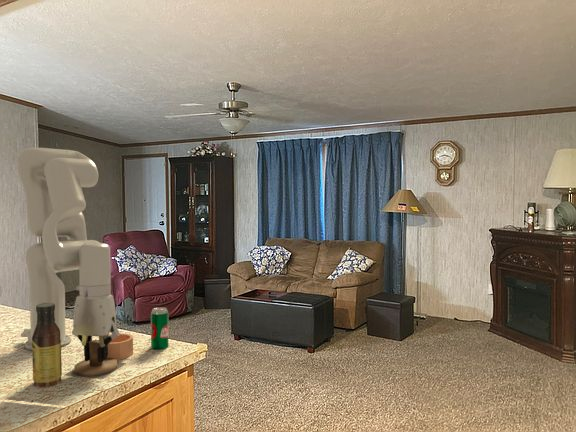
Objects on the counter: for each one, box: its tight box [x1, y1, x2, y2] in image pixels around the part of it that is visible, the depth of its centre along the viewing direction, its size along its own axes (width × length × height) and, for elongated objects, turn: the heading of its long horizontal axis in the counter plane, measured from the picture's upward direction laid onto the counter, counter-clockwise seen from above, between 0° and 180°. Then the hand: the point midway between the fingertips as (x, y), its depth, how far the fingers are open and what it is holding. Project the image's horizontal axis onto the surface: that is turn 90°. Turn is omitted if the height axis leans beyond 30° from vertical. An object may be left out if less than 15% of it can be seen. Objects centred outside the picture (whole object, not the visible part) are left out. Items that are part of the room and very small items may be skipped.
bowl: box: [107, 332, 134, 361], centre depth 133 cm, size 9×9×5 cm
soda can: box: [150, 307, 170, 351], centre depth 140 cm, size 5×5×12 cm
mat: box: [63, 361, 127, 380], centre depth 122 cm, size 11×11×1 cm
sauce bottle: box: [31, 303, 63, 388], centre depth 113 cm, size 6×6×20 cm
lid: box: [73, 339, 118, 378], centre depth 122 cm, size 10×10×7 cm
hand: (96, 359), depth 122 cm, fingers closed on lid, 3 cm apart
